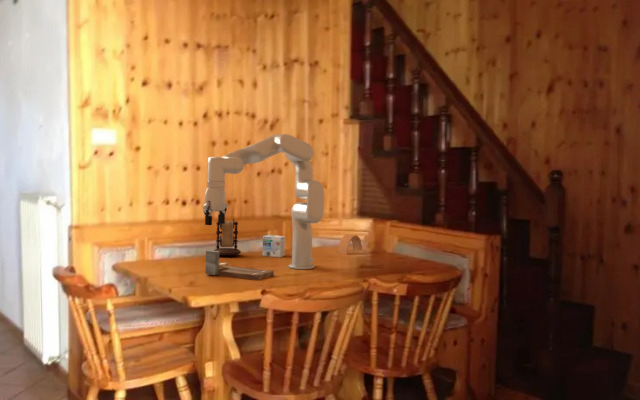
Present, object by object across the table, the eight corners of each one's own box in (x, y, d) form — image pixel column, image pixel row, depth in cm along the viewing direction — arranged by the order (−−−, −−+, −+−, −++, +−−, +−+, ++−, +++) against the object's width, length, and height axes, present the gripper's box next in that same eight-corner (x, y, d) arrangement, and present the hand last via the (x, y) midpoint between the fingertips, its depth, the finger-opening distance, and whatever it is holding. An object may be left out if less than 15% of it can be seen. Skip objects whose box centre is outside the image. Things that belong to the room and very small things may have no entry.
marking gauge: (221, 269, 304) (221, 248, 303) (230, 270, 302) (231, 249, 301) (205, 273, 293) (205, 251, 292) (214, 274, 291) (215, 252, 290)
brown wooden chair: (214, 258, 344) (214, 219, 342) (211, 253, 358) (211, 216, 357) (242, 257, 348) (243, 219, 346) (238, 253, 362) (239, 216, 360)
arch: (337, 253, 373) (338, 236, 373) (353, 250, 391) (353, 233, 390) (346, 254, 370) (347, 236, 370) (362, 250, 388) (362, 233, 387)
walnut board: (224, 269, 309) (224, 265, 309) (273, 275, 298) (273, 270, 297) (207, 274, 296) (207, 269, 296) (257, 280, 285) (257, 275, 285)
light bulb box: (261, 256, 356) (262, 235, 355) (266, 254, 362) (267, 234, 361) (280, 257, 353) (281, 237, 352) (285, 255, 359) (285, 235, 358)
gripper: (220, 184, 300) (219, 222, 301) (197, 185, 284) (196, 225, 285) (234, 185, 296) (233, 223, 297) (211, 185, 281) (210, 226, 282)
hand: (215, 224), depth 291 cm, fingers open, 9 cm apart
